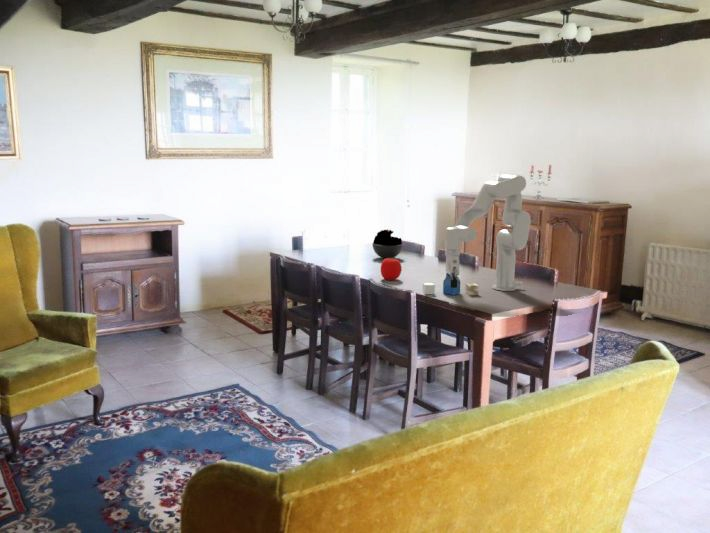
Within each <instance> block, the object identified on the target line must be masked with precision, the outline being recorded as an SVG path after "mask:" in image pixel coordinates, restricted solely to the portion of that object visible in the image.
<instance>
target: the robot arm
mask: <svg viewBox="0 0 710 533" xmlns="http://www.w3.org/2000/svg"><path fill="white" fill-rule="evenodd" d="M526 187H527V179H526V178H525V177H524V176H522V175H520V174H510V173H507V174H506V173H505V174H501V175H500V176H499V177H498V180H495V181H494V180H487V181H485V182H484V183H483V185H482V186H481V189H480V190H479V191H478V194H477V196H476V197H475V199H474V201H473V203H472V205H471V206H469V207H468V208H467V209H466V210H464V211H463V213H462V214H460V216H458V219H457V220H456V222H455V224H454V226H451V227H447V228H446V229H445V242H444V243H445V244H444V245H445V247H444V255H445V272H446V273H445V277H446V276H449V275H451V279H452V280H451V288H457V277H458V278H459V275H460V255H461V242H462V243H463V242H466V243H471V242H474V241H475V240H476V239H477V237H478V231H477V230H476V229H475V228H473V227H471V226H470V225H471V223H472V222H473V221H475V220H476V219H477V218H480V217H483V216H485V215H487V213H488V212H489V210H490V209H491V207H492V205H493V203H494V202H495V199H497V200H501V199H505V201H504V208H503V214H502V219H501V220H502V223H503V225H505V226H506V227H510V228H504V229H501V230H499V231H498V232H497V234H496V238H495V241H496V249H497V250H496V251H497V252H496V269H495V282H494V284H492V286H491V287H492V289H493V290H496V291H502V292H513V291H516V290H517V286H523V285H524V283H523V281H516V280H515V274H516V273H515V272H516V271H515V268H516V258H517V257H516V255H517V254H516V251H521V250H523V249H524V248H525V247H526V245H527V243H528V239H529V234H530V229H531V223H532V222H531V216H530V214H529V212H527V211H526V210H523V209H522V205H523V195H522V192H523V191H524V190H525V189H526ZM511 228H512V229H511Z"/></svg>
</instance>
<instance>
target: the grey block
mask: <svg viewBox="0 0 710 533" xmlns="http://www.w3.org/2000/svg"><path fill="white" fill-rule="evenodd" d="M435 285H436V284H434V282H423V283H422V293H423V295H425V294H435V293H436V292H435V291H436V286H435Z"/></svg>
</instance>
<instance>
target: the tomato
mask: <svg viewBox="0 0 710 533" xmlns="http://www.w3.org/2000/svg"><path fill="white" fill-rule="evenodd" d="M380 273H381V277H382V278H383V279H385V280H386V281H394V280H396V279H398V278H399V277H400V275H401V273H402V264H401V262H400V261H399V260H398V259H397V258H391V257H390V258H387V259H384V258H383V260H382V262H381V264H380Z"/></svg>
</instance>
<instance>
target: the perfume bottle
mask: <svg viewBox="0 0 710 533" xmlns="http://www.w3.org/2000/svg"><path fill="white" fill-rule="evenodd" d="M451 280H452V279H451V275H449V276H446V275H445V278H444V279H443V281H442V283H443V284H442V285H443V286H442V288H443V289H442V294H446V295H451V296H455V295H458V294H460V293H461V280H460V278H459V276H458V277H457V288H451Z"/></svg>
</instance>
